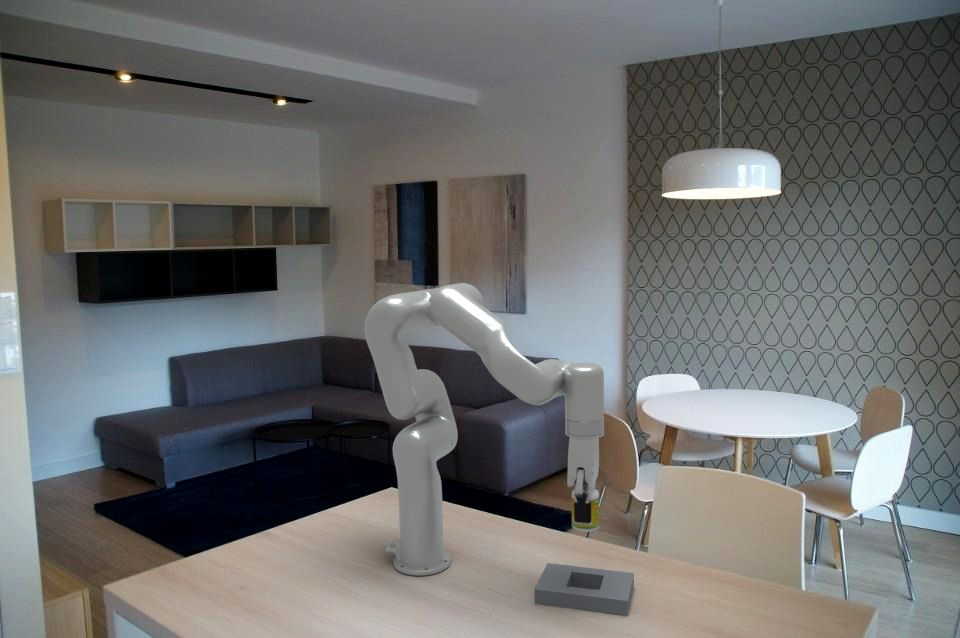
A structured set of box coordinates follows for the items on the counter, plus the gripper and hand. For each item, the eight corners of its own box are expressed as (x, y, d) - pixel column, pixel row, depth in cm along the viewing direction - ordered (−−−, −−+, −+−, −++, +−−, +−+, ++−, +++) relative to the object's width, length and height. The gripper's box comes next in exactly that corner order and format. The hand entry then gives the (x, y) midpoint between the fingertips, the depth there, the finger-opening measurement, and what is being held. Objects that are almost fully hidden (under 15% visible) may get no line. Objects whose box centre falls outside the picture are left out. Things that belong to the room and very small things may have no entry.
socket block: (534, 603, 146) (534, 589, 146) (547, 576, 157) (547, 562, 157) (627, 615, 141) (627, 600, 140) (633, 586, 152) (633, 572, 152)
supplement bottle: (598, 533, 144) (598, 484, 143) (570, 531, 145) (570, 483, 144) (599, 522, 149) (599, 475, 148) (572, 521, 151) (572, 474, 149)
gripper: (573, 415, 154) (574, 499, 156) (557, 437, 138) (558, 531, 140) (609, 417, 152) (610, 502, 154) (597, 439, 136) (598, 535, 138)
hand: (585, 515), depth 147 cm, fingers closed on supplement bottle, 5 cm apart
